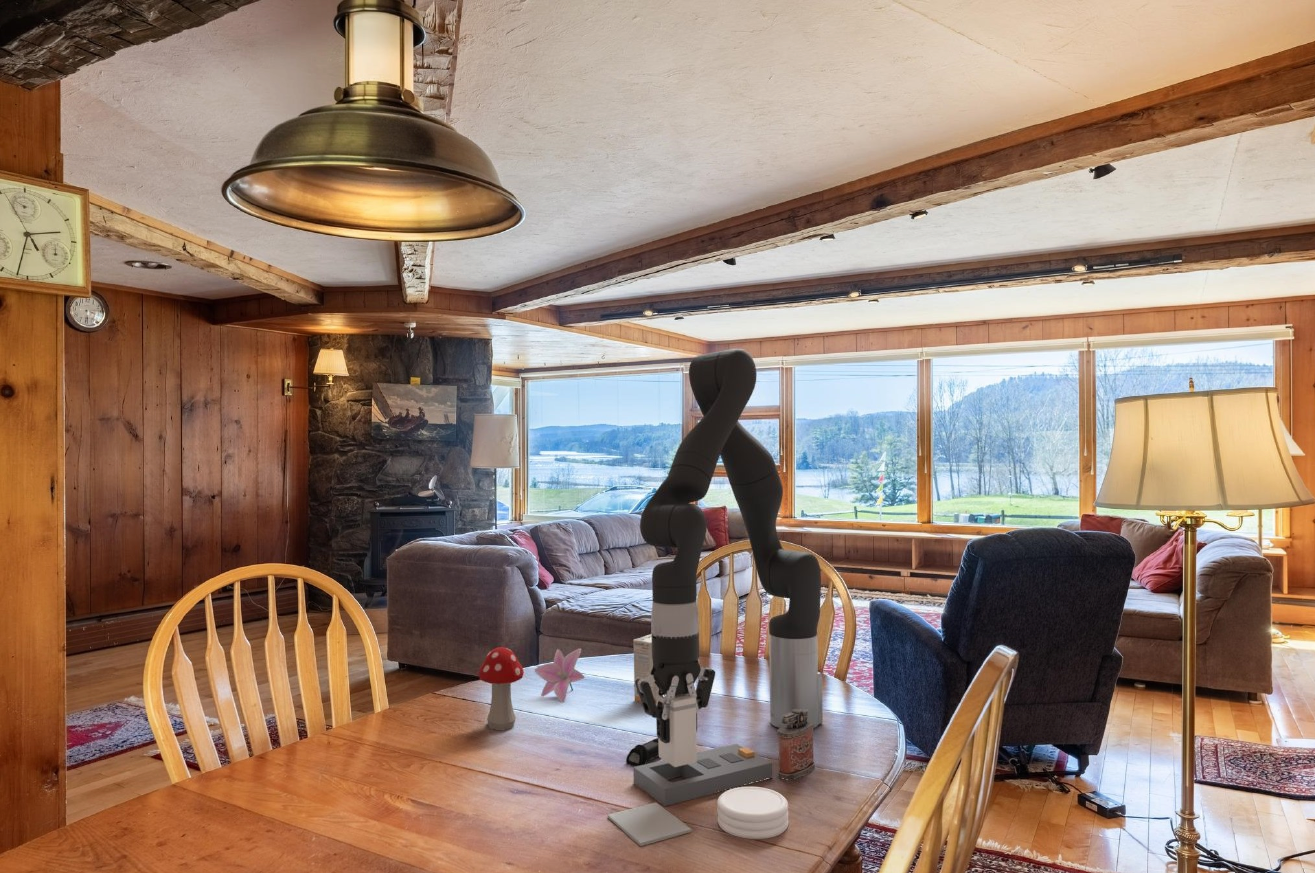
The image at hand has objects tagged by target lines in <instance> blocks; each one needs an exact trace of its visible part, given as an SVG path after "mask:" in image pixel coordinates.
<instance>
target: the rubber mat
mask: <svg viewBox="0 0 1315 873" xmlns="http://www.w3.org/2000/svg"><path fill="white" fill-rule="evenodd" d="M607 818H608V819H609V820H610V821H611V822H612V823H613V824H615V825H616V826H617V828H619V829H620V830H621V831H622V832H623V833H624V834H626V835H627V836H628V837H629V838H631V839H632V840H633V841H634V842H635V843H636V844H637V845H638V846H639V847H643V846H646V845H650V844H653V843H657V842H661V841H664V840H667V839H668V840H669V839H672V838H675V837H679V836H681V835H684V834H689V833H692V828H691V827H689V826H688V825H687V824H686V823H684V822H683V821H681V820H680V819H679V818H677V817H676V816H675V815H674V814H672V813H671V812H669V811H668V810H666V809H665V808H664V807H663V806H662V805H660V804H659V803H657V802H653V803H652V802H651V803H649V804H643V805H641V806H637V807H634V808H633V807H632V808H629V809H626V810H622V811H617V812H614V813H610V814H607Z"/></svg>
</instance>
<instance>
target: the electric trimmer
mask: <svg viewBox="0 0 1315 873" xmlns="http://www.w3.org/2000/svg"><path fill="white" fill-rule="evenodd" d="M656 757H659V743H658V737H655V738H653V739H652V740H650V741H648V742H645V743H642V744H637V745H635V746H634V747H633V748H632V749H630V751H629V753H628V754H627V756H626V759H625V763H626V764H627V765H630V766H633V767H636V766H640V765H645V764H647V762H648V761H650V760H653V759H655V758H656Z"/></svg>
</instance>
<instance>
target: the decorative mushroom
mask: <svg viewBox="0 0 1315 873" xmlns="http://www.w3.org/2000/svg"><path fill="white" fill-rule="evenodd" d="M524 673H525V672H524V667H523V666H522V664H521V663H520V661H519V659H518V658H517V655H516V654H515V653H514V652H513V651H512V650H511V649H509V648H507V647H502V646H501V647H496V648H494V649H491V650H490V651H489V652H488V654H487V655H486V656H485V659H484V661H483V662H482V664H481V666H480V667H479V670H478V677H479V680H481V681H482V682H484V683H487V684H491V701H490V707H489V713H488V715H487V719H486V720H487V723H488V727H489V728H490V729H491V730H494V729H495V730H496V731H506V730H511V729H512V728H514V726H515V722H516V719H517V718H516V714H515V711H514V709H513V707H514V706H513V703H512V689H511V688H512V687H511V686H512V685H511V684H513V683H515V682H517V681H520V680H521V679H523V676H524ZM495 730H494V731H495Z"/></svg>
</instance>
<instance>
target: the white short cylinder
mask: <svg viewBox="0 0 1315 873" xmlns="http://www.w3.org/2000/svg"><path fill="white" fill-rule="evenodd" d="M716 804H717V811H716V813H717V819H716V820H717V824H718V826H719V827H720V829H721V830H723V831H724V832H726V833H727V834H729V835H732V836H734V837H737V838H741V839H747V840H763V839H764V840H765V839H771V838H774V837H777V836H779V835H781V834H783V833H784V832H785V831H787V829H788V827H789V818H788V817H789V814H790V813H789V810H788V809H789V802H788V799H787V798H786V797H785V796H784V795H782V794H781V793H780V792H778V791H775V790H773V789H770V788H766V787H760V786H741V787H737V788H733V789H729V790H725V791H723V793H721V794H720V795H719V797H718V799H717V802H716Z"/></svg>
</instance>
